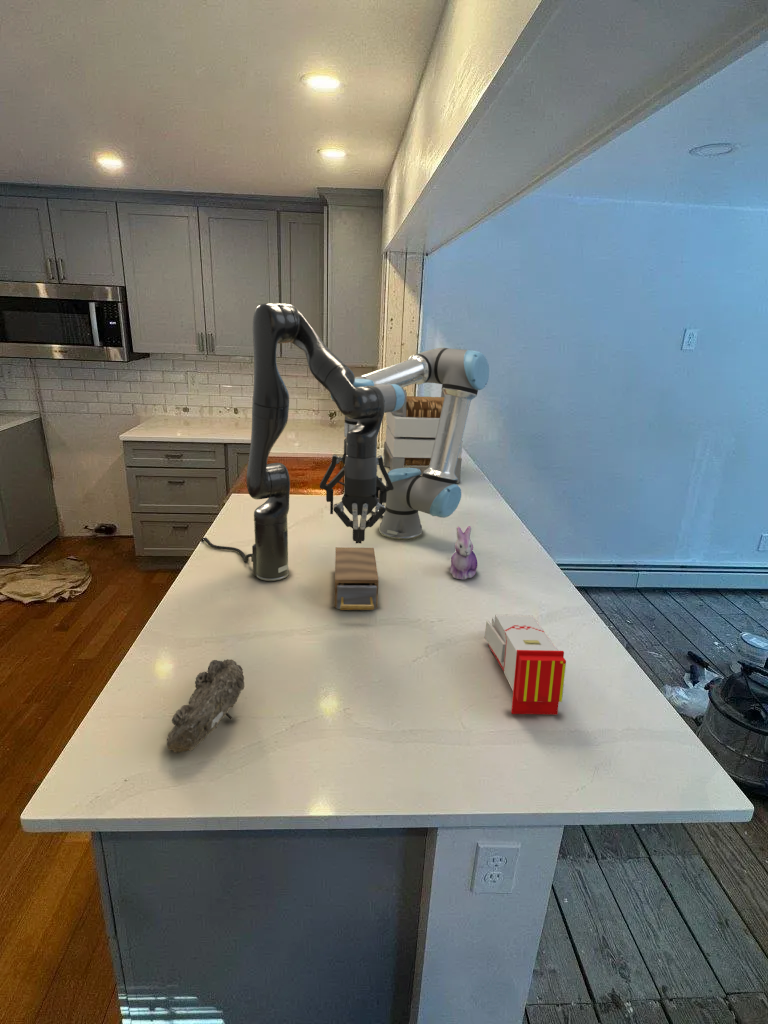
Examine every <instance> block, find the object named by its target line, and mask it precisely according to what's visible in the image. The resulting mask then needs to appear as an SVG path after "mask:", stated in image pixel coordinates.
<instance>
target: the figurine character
mask: <svg viewBox="0 0 768 1024" xmlns="http://www.w3.org/2000/svg"><path fill="white" fill-rule="evenodd" d="M379 479H380V480H381V481H382V482H383V478H382V477H379ZM379 490H381V488H380V487H379V486H378V485H377V484H376V497H377V499H378V500H379Z"/></svg>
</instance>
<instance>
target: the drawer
mask: <svg viewBox="0 0 768 1024" xmlns="http://www.w3.org/2000/svg"><path fill="white" fill-rule="evenodd" d="M376 589H377V587H376V585H372V583H340V585H337V608H336V609H337V610H341V611H374V610H376V609H377V608H376Z"/></svg>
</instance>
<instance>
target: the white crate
mask: <svg viewBox="0 0 768 1024" xmlns="http://www.w3.org/2000/svg"><path fill="white" fill-rule="evenodd" d="M402 390H403V392H404V395H405V400H404V404H403V406H402V407H401V408H400V409H399V410H396V411H393V412H387V413H385V414H386V415H385V423H386V428H385V438H384V442H383V465H384V467H388V468H389V471H391V470H394V469H398V468H405V466H406V467H407V466H411V467H412V466H413V467H415V466H416V467H417V466H418V467H429V465H430V460H431V456H432V451H433V447H434V442H435V438H436V433H437V429H438V424H439V419H440V415H441V410H442V406H443V401H444V397H445V394H444V392H443V391H442V390H441V392H440V393H441V394H440V396H415V395H414V396H413V395H412V396H411V395H407V394H408V393H407V390H406V389H404V387H403V388H402ZM463 442H464V441H463V440H462V442H461V446H460V451H459V455H458V459H457V464H456V468H455V475H456V477H457V479H458V480H457V484H459V483H461V472H462V461H463V460H462V453H463Z"/></svg>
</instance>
